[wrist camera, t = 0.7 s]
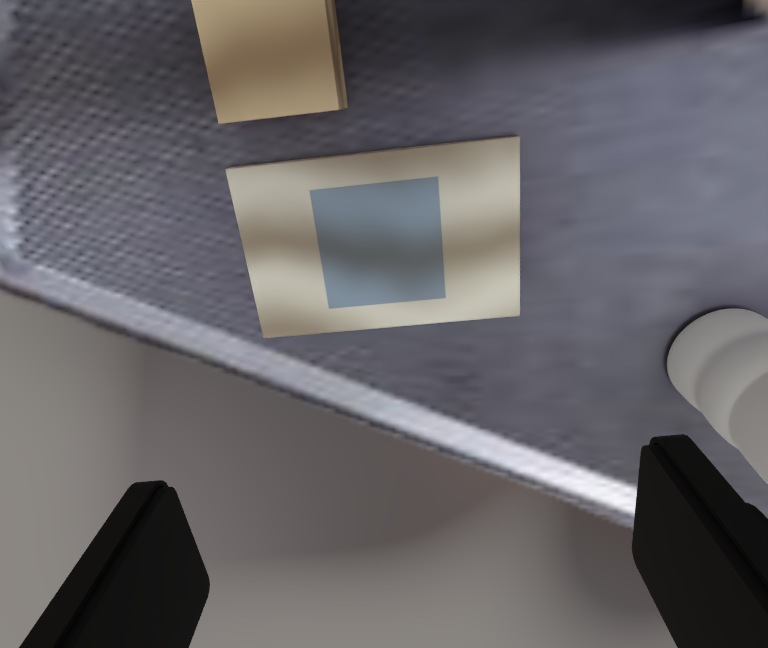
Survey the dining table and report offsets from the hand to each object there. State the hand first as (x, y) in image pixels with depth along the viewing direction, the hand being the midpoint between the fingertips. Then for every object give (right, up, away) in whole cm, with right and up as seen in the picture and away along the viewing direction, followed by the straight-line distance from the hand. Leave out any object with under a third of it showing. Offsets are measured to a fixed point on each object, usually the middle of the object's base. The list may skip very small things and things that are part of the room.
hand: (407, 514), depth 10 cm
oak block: (-6, +19, +18) cm, 27 cm away
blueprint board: (-1, +9, +22) cm, 24 cm away
